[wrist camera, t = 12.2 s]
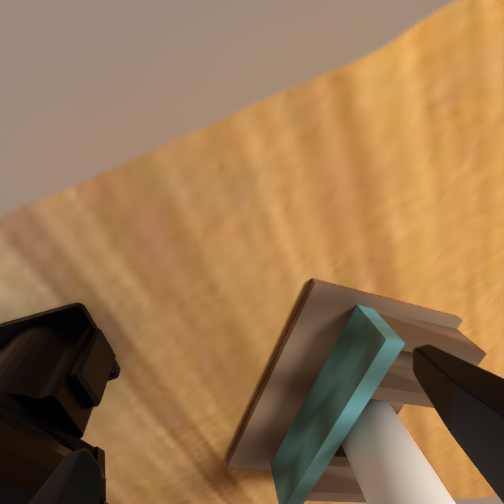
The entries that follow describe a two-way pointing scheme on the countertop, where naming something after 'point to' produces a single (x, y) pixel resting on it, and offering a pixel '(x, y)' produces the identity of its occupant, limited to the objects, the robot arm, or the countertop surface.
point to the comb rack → (337, 386)
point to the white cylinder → (390, 460)
